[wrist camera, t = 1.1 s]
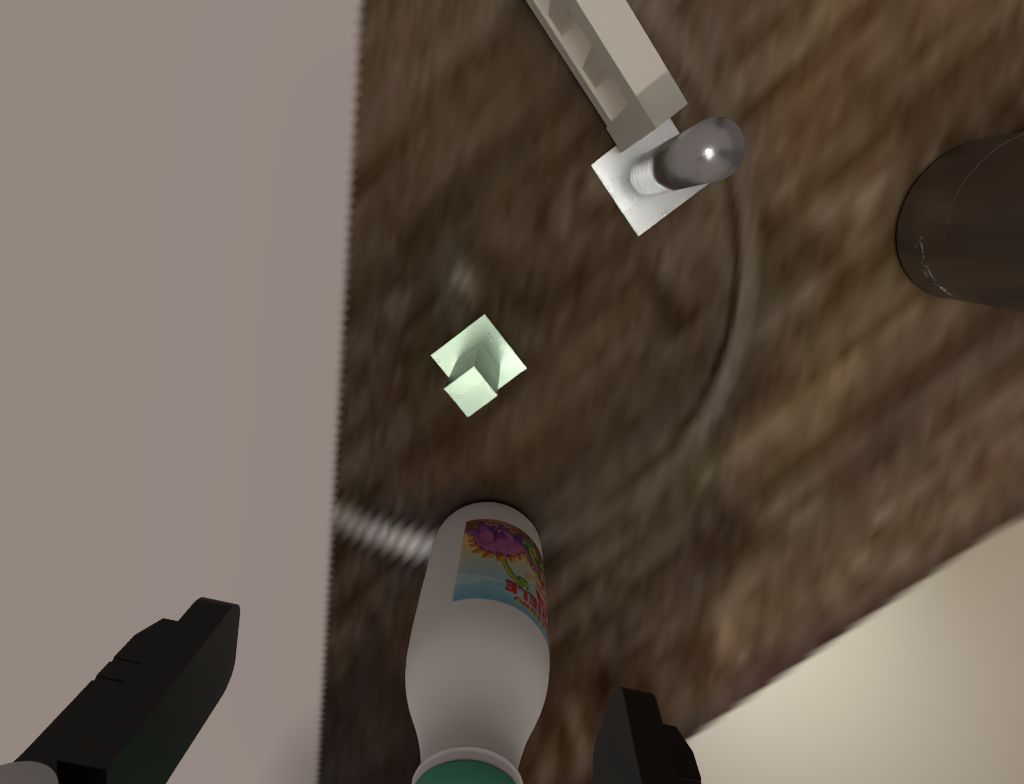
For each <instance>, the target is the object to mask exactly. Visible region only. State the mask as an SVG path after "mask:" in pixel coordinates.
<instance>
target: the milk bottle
mask: <svg viewBox="0 0 1024 784" xmlns="http://www.w3.org/2000/svg"><path fill="white" fill-rule="evenodd" d="M548 679H549V635H548V621H547V606H546V594H545V581H544V569H543V558H542V549H541V542H540V538H539V535H538V533H537V531H536V529H535V527H534V526H533V524H532V523H531V522H530V521H529V520H528V519H527V518H526V517H525V516H524V515H523V514H522V513H520V512H519V511H517V510H516V509H514V508H512V507H509V506H507V505H505V504H500V503H496V502H480V503H474V504H471V505H467V506H465V507H463V508H461V509H459V510H457V511H455V512H454V513H453V514H451V515H450V516H449V517H448V518H447V519H446V520H445V521H444V522H443V524H442V525H441V526H440V528H439V530H438V532H437V535H436V538H435V541H434V544H433V548H432V552H431V555H430V559H429V563H428V567H427V571H426V575H425V579H424V583H423V587H422V591H421V595H420V599H419V603H418V607H417V611H416V615H415V619H414V624H413V628H412V633H411V638H410V643H409V648H408V653H407V660H406V674H405V680H406V694H407V701H408V706H409V710H410V713H411V717H412V720H413V723H414V726H415V729H416V732H417V736H418V740H419V746H420V755H421V765H420V766H419V767H418V769H417V770H416V772H415V774H414V776H413V780H412V784H523V782H522V778H521V776H520V774H519V772H518V767H519V763H520V759H521V756H522V753H523V750H524V747H525V745H526V742H527V740H528V738H529V736H530V734H531V732H532V730H533V728H534V727H535V725H536V722H537V720H538V718H539V716H540V713H541V710H542V707H543V704H544V701H545V697H546V692H547V687H548Z"/></svg>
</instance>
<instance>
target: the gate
mask: <svg viewBox="0 0 1024 784" xmlns="http://www.w3.org/2000/svg"><path fill="white" fill-rule="evenodd" d="M526 2H527V3H528V5H529V6H530V8H531V9H532V11H533V12H534V14H535V16H536V17H537V19H538V20H539V22H540V23H541V25H542V26H543V28H544V29H545V31H546V33H547V34H548V36H549V37H550V39H551V40H552V42H553V43H554V45H555V46H556V48H557V50H558V51H559V53H560V54H561V56H562V57H563V59H564V60H565V62H566V63H567V65H568V67H569V68H570V70H571V71H572V73H573V74H574V76H575V77H576V79H577V80H578V82H579V84H580V85H581V87H582V88H583V90H584V91H585V93H586V94H587V96H588V97H589V99H590V100H591V102H592V104H593V105H594V107H595V108H596V110H597V111H598V113H599V114H600V116H601V117H602V119H603V121H604V122H605V124H606V125H607V127H606V129H607V130H608V132H609V134H610V135H611V137H612V138H613V140H614V141H615V143H616V144H617V146H618V147H619V149H620V151H621V152H623V151H625V150H626V149H627V148H629V147H630V146H632V145H633V144H635V143H636V142H638V141H639V140H641V139H642V138H644V137H645V136H646V135H648V134H649V133H651V132H652V131H654V130H655V129H657V128H658V127H659V126H660V125H662V124H663V123H664V122H665V121H667V120H668V119H669V118H671V117H672V116H673V115H674V114H676V113H677V112H678V111H679V110H681V109H682V108H683V107H685V106H686V105H687V104H688V103H687V101H686V99H685V98H684V96H683V94H682V93H681V91H680V89H679V88H678V86H677V84H676V83H675V81H674V79H673V78H672V76H671V74H670V73H669V71H668V69H667V68H666V66H665V64H664V63H663V61H662V60H661V58H660V56H659V55H658V53H657V51H656V50H655V48H654V46H653V45H652V43H651V41H650V40H649V38H648V36H647V35H646V33H645V31H644V30H643V28H642V26H641V25H640V23H639V21H638V20H637V18H636V16H635V15H634V13H633V11H632V10H631V8H630V6H629V5H628V3H627V1H626V0H526Z"/></svg>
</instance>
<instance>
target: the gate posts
mask: <svg viewBox="0 0 1024 784" xmlns="http://www.w3.org/2000/svg"><path fill="white" fill-rule="evenodd" d="M744 151H745V141H744V136H743V133H742V131H741V129H740V128H739V127H738V125H737V124H736V123H734V122H733V121H732V120H730V119H728V118H725V117H710V118H707V119H705V120H703V121H701V122H699V123H698V124H696V125H694V126H692V127H690V128H689V129H687V130H685V131H683V132H681V133H679V132H678V130H677V129H676V127H675V125H674V124H673V122H672V120H671V119H670V118H669V119H668V120H667V121H665V122H664V123H663V124H662V125H660V126H659V127H658V128H657V129H655V130H654V131H652V132H651V133H649V134H648V135H646V136H645V137H644V138H642V139H641V140H639V141H638V142H636V143H635V144H633V145H632V146H630V147H629V148H627V149H626V150H625V151H623V152H621V151H620V149H619V147H618V146H617V145H616V146H615V147H613V148H612V149H611V150H610V151H608V152H607V153H606V154H605V155H603V156H602V157H601V158H600V159H598V160H597V161H596V162H595V163H593V164H592V165H591V168H592V169H593V171H594V172H595V174H596V175H597V177H598V178H599V179H600V181H601V182H602V184H603V185H604V187H605V188H606V190H607V191H608V193H609V194H610V196H611V197H612V199H613V200H614V202H615V203H616V205H617V206H618V208H619V209H620V211H621V212H622V214H623V215H624V217H625V218H626V220H627V221H628V223H629V224H630V226H631V227H632V229H633V230H634V232H635V233H636V235H637V236H640V235H641V234H642V233H644V232H645V231H646V230H648V229H649V228H650V227H652V226H653V225H654V224H656V223H657V222H658V221H660V220H661V219H662V218H664V217H665V216H666V215H668V214H669V213H670V212H672V211H673V210H674V209H676V208H677V207H678V206H680V205H681V204H682V203H684V202H685V201H686V200H688V199H689V198H690V197H692V196H693V195H694V194H696V193H697V192H698V191H700V190H701V189H702V188H704V187H705V186H706V185H708V184H709V183H712V182H716V181H720V180H723V179H725V178H727V177H728V176H730V175H731V174H732V173H733V172H734V171H735V170H736V169H737V168H738V166H739V165H740V163H741V161H742V159H743V155H744ZM431 356H432V358H433V359H434V360H435V361H436V363H437V364H438V365H439V366H440V367H441V369H442V370H443V371H444V372H445V374H446V375H447V376H448V377H449V379H448V381H447V383H446V386H445V388H444V389H445V390H446V391H447V393H448V394H449V395H450V396H451V398H452V399H453V400H454V401H455V402H456V404H457V405H458V406H459V407H460V408H461V410H462V411H463V412H464V413H465V414H466V416H467V417H469V416H470V415H472V414H473V413H474V412H476V411H477V410H478V409H480V408H481V407H483V406H484V405H485V404H487V403H488V402H489V401H491V400H492V399H493V398H495V397H496V396H497V394H498V389H499V388H500V387H502V386H503V385H505V384H506V383H507V382H509V381H510V380H511V379H513V378H514V377H515V376H517V375H518V374H520V373H521V372H522V371H524V370H525V369H526V366H525V365H524V363H523V362H522V361H521V360H520V358H519V357H518V356H517V354H516V353H515V352H514V351H513V349H512V348H511V347H510V345H509V344H508V343H507V342H506V340H505V339H504V338H503V336H502V335H501V334H500V332H499V331H498V330H497V329H496V327H495V326H494V325H493V323H492V322H491V321H490V320H489V318H488V317H487V316H486V314H484V315H482V316H481V317H480V318H479V319H477V320H476V321H475V322H473V323H472V324H471V325H469V326H468V327H467V328H465V329H464V330H463V331H462V332H460V333H459V334H458V335H456V336H455V337H454V338H452V339H451V340H450V341H449V342H447V343H446V344H445V345H443V346H442V347H441V348H439V349H438V350H437V351H435V352H434V353H433V354H432V355H431Z"/></svg>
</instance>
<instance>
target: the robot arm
mask: <svg viewBox="0 0 1024 784" xmlns="http://www.w3.org/2000/svg"><path fill="white" fill-rule="evenodd" d="M897 247H898V255H899V258H900V260H901V263H902V265H903V268H904V270H905V271H906V273H907V274H908V276H909V277H910V278H911V280H912V281H913V282H914V283H915V284H917V285H918V286H919V287H920V288H922V289H923V290H924V291H926V292H929V293H931V294H933V295H935V296H938V297H943V298H949V299H954V300H960V301H966V302H971V303H977V304H983V305H989V306H994V307H998V308H1004V309H1010V310H1016V311H1022V312H1024V129H1023V130H1022V131H1021V132H1019V133H1013V134H1008V135H1003V136H997V137H992V138H986V139H982V140H978V141H973V142H969V143H966V144H964V145H962V146H960V147H957V148H955V149H953V150H951V151H949V152H948V153H946V154H945V155H944V156H942V157H941V158H939V159H938V160H936V161H935V162H934V163H933V164H932V165H931V166H930V167H929V168H928V169H927V170H926V171H925V172H924V173H923V174H922V175H921V176H920V178H919V179H918V180H917V182H916V183H915V184H914V186H913V187H912V189H911V190H910V192H909V194H908V196H907V198H906V200H905V202H904V204H903V206H902V210H901V213H900V217H899V221H898V227H897ZM239 618H240V607H239V605H237V604H233V603H228V602H223V601H218V600H214V599H209V598H204V597H201V598H199V599H198V600H196V601H195V602H194V603H193V605H192V606H191V607H190V608H189V609H188V610H187V611H186V613H185V614H184V615H183V616H182V617H181V618H180V619H179V621H174V620H170V619H164V618H163V619H161V620H159V621H158V622H156V623H154V624H153V625H151V626H149V627H148V628H146V629H144V630H142V631H141V632H139V633H137V634H136V635H134V636H133V638H132V639H131V640H130V641H129V642H128V643H127V644H126V645H125V646H124V647H123V648H122V649H121V650H120V651H119V652H118V653H117V654H116V655H115V657H114V659H113V661H112V662H109V663H108V664H107V665H106V666H105V667H104V668H103V669H102V670H101V671H100V672H99V673H98V675H97V676H96V678H95V680H94V681H93V680H92V681H91V682H90V683H89V684H88V685H87V686H86V687H85V688H84V689H83V690H82V691H81V692H80V693H79V694H78V696H77V697H76V698H75V699H74V700H73V701H72V702H71V703H70V704H69V705H68V706H67V707H66V708H65V709H64V710H63V711H62V713H60V715H59V716H58V717H57V718H56V719H55V720H54V721H53V722H52V723H51V724H50V725H49V726H48V727H47V728H46V729H45V730H44V731H43V732H42V734H41V735H40V736H39V737H38V738H37V739H36V740H35V741H34V742H33V743H32V744H31V745H30V747H28V748H27V749H26V750H25V751H24V753H22V754H21V755H20V756H19V757H18V758H17V759H16V760H15V761H14V762H13V763H8V764H4V765H0V784H166V782H167V781H168V779H169V778H170V776H171V775H172V773H173V772H174V770H175V768H176V767H177V765H178V764H179V762H180V761H181V759H182V758H183V756H184V754H185V753H186V751H187V750H188V748H189V747H190V745H191V743H192V742H193V740H194V739H195V737H196V736H197V734H198V733H199V731H200V730H201V728H202V726H203V725H204V723H205V722H206V720H207V719H208V717H209V715H210V714H211V712H212V711H213V709H214V707H215V706H216V705H217V703H218V702H219V700H220V698H221V697H222V695H223V693H224V692H225V690H226V688H227V685H228V683H229V680H230V678H231V675H232V672H233V669H234V664H235V657H236V648H237V637H238V628H239V627H238V626H239ZM593 777H594V784H701V776H700V773H699V770H698V767H697V764H696V760H695V757H694V754H693V751H692V750H691V748H690V747H689V745H688V744H687V742H686V741H685V739H684V738H683V736H682V735H681V733H680V732H679V730H678V729H677V727H675V726H670V725H666V724H663V723H662V719H661V716H660V712H659V708H658V704H657V701H656V698H655V696H654V695H653V694H652V693H648V692H643V691H639V690H634V689H629V688H624V687H620V686H618V687H616V688H615V690H614V692H613V694H612V697H611V700H610V703H609V705H608V708H607V711H606V713H605V716H604V719H603V721H602V724H601V727H600V729H599V732H598V735H597V738H596V741H595V746H594V753H593Z"/></svg>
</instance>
